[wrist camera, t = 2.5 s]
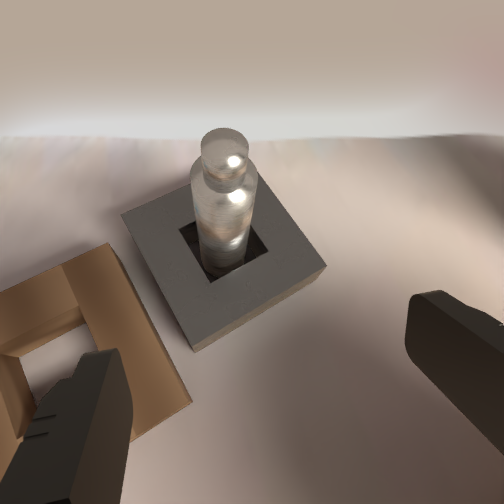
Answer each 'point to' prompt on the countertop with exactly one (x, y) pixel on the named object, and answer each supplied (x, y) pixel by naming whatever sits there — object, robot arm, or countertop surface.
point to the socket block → (234, 283)
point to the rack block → (103, 332)
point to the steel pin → (223, 199)
